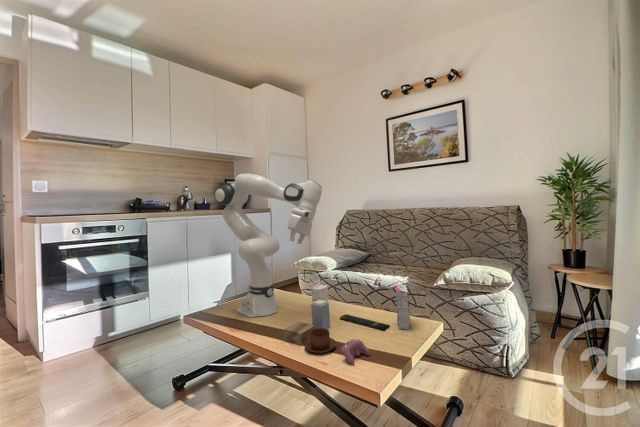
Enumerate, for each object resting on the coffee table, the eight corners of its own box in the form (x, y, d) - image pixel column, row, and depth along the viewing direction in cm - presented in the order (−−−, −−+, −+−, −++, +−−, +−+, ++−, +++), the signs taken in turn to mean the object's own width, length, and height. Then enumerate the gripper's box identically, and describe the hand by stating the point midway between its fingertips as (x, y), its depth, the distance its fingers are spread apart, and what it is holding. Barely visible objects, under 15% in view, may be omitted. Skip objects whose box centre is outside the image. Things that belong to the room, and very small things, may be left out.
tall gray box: (312, 329, 135) (311, 302, 135) (320, 324, 139) (318, 299, 139) (322, 331, 132) (321, 304, 131) (329, 327, 136) (328, 300, 136)
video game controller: (363, 356, 112) (355, 337, 114) (371, 354, 109) (364, 334, 111) (344, 367, 105) (337, 346, 107) (353, 365, 102) (345, 344, 104)
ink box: (320, 312, 155) (319, 283, 155) (312, 311, 158) (310, 282, 157) (329, 307, 162) (327, 279, 162) (321, 306, 165) (319, 278, 165)
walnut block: (284, 341, 125) (283, 329, 125) (298, 333, 132) (298, 321, 132) (301, 346, 119) (301, 333, 119) (315, 337, 127) (315, 325, 127)
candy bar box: (396, 319, 141) (395, 284, 140) (408, 320, 140) (406, 284, 139) (398, 329, 130) (396, 291, 129) (410, 330, 129) (408, 291, 128)
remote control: (384, 332, 129) (383, 329, 129) (339, 320, 145) (338, 317, 145) (390, 328, 133) (390, 325, 133) (345, 316, 149) (345, 314, 149)
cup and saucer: (322, 359, 108) (321, 342, 108) (298, 350, 116) (297, 334, 116) (342, 346, 117) (341, 330, 117) (318, 338, 125) (318, 323, 125)
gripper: (306, 217, 155) (297, 243, 153) (290, 207, 136) (280, 237, 134) (317, 220, 153) (308, 246, 151) (303, 211, 134) (293, 241, 132)
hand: (295, 242), depth 143 cm, fingers open, 8 cm apart
